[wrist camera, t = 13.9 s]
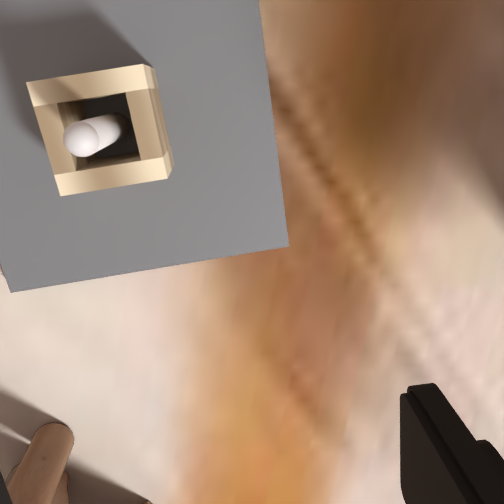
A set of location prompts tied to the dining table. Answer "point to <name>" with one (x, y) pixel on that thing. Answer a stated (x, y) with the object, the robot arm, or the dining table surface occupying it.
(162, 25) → the grey peg base
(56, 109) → the cream square box
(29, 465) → the wooden toy
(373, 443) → the dining table surface
